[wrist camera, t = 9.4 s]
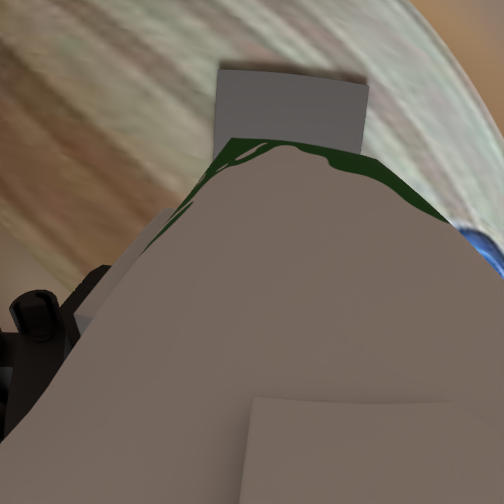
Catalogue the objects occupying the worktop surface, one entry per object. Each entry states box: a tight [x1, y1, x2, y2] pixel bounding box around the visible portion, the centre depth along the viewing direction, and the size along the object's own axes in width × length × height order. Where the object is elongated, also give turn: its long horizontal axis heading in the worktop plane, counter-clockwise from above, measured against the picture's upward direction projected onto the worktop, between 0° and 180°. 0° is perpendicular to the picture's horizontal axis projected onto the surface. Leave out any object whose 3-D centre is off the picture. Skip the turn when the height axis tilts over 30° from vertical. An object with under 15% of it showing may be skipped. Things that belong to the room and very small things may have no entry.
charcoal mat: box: [213, 69, 369, 161], centre depth 34 cm, size 16×16×1 cm
